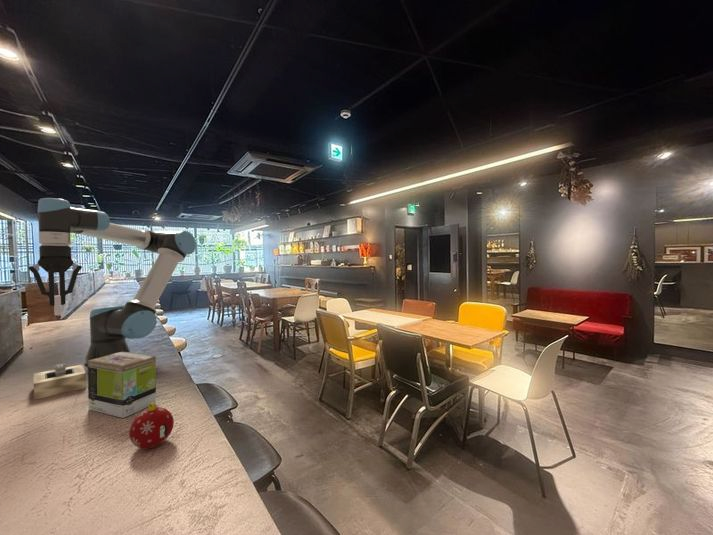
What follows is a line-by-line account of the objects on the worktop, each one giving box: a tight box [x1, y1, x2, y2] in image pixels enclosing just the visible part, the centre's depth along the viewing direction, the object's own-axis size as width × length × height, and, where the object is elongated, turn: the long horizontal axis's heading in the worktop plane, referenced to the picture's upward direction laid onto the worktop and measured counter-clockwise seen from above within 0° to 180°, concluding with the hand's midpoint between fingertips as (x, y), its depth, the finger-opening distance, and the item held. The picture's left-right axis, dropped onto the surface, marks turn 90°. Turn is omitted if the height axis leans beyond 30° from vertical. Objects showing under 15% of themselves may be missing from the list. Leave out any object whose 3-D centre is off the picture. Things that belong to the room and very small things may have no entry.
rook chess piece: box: [53, 362, 68, 377], centre depth 101 cm, size 4×4×8 cm
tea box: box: [87, 351, 157, 419], centre depth 88 cm, size 15×10×15 cm
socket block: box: [33, 364, 87, 400], centre depth 100 cm, size 12×12×5 cm
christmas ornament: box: [128, 403, 175, 450], centre depth 70 cm, size 9×9×10 cm
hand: (57, 314), depth 101 cm, fingers closed
